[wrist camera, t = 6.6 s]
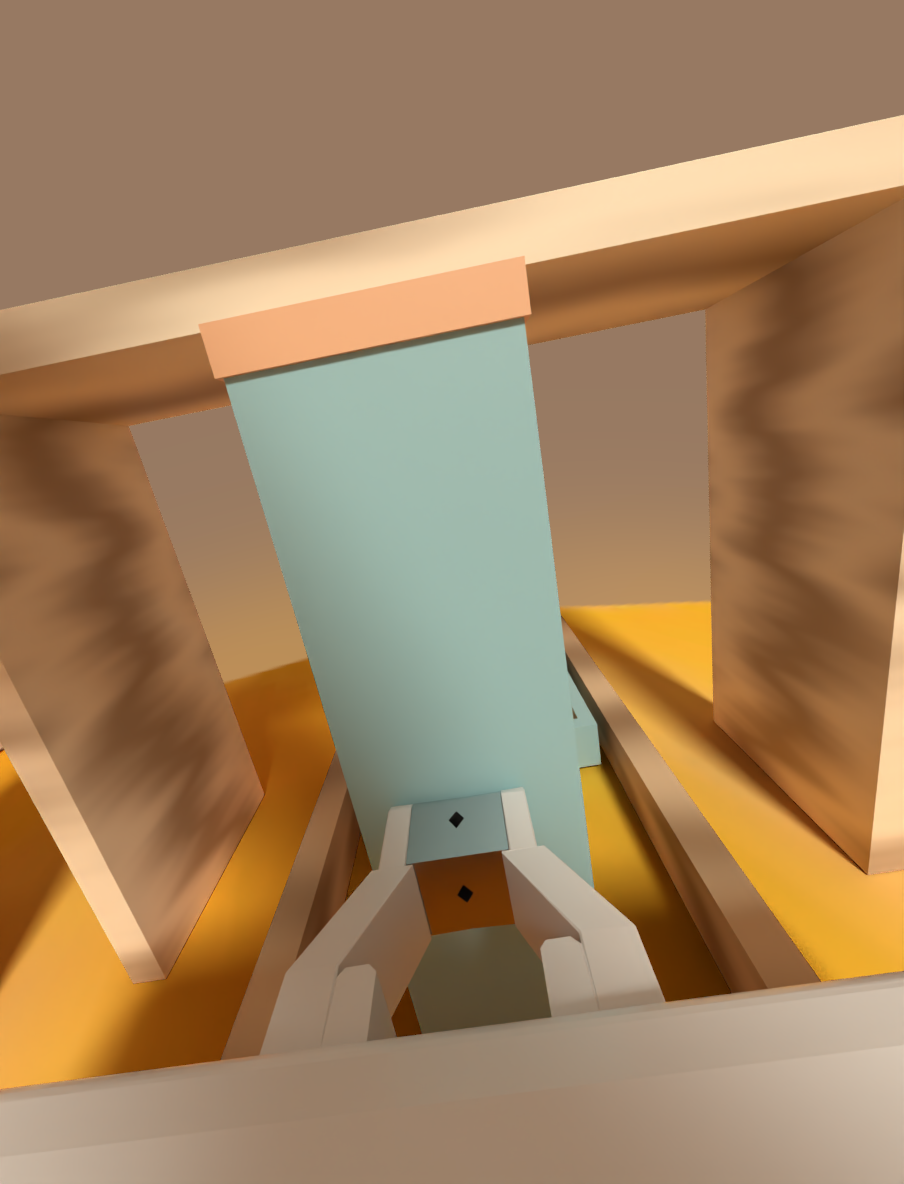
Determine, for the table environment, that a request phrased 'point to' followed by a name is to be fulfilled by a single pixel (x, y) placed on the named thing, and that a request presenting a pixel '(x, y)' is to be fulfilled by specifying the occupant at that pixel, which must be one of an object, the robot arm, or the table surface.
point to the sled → (422, 573)
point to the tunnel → (738, 608)
